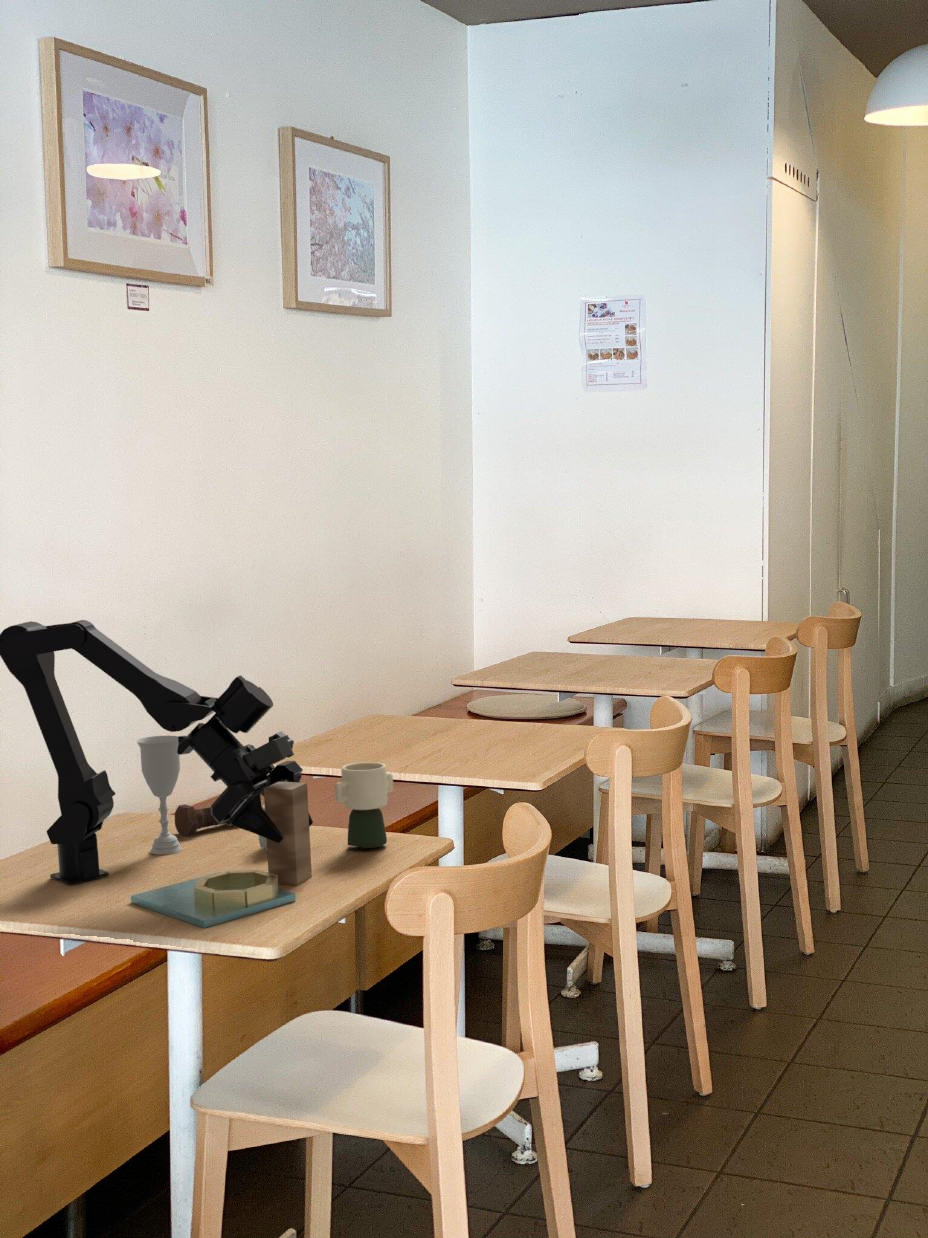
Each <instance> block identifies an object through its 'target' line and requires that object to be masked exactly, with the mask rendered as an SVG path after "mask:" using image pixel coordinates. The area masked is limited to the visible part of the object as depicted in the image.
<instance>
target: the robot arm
mask: <svg viewBox="0 0 928 1238" xmlns="http://www.w3.org/2000/svg"><path fill="white" fill-rule="evenodd" d="M64 650H74V651H75V652H76V653H78V654H79V655H81V656H82V657H83V658H85V659H86V660H87V661H89V662H90V663H91V664H93V665H94V666H95V667H96V668H98V669H100V670H101V672H104V673H105V674H106V675H107V676H109V677H110V678H111V679H113V680H114V681H115V682H117V684H119V685H121V686H122V687H123V688H124V689H126V690H128V691H129V692H130V693H131V694H133V695H134V696H135V697H136V698H137V699H138V701H140V703H141V705H142V707H143V708H144V710H145V711H146V713H147V714H148V715H149V716H150V717H151V718H152V719H153V720H154V721H155V722H156V723H157V725H158V726H160V727H161V728H162V729H163V730H165V731H167V732H170V733H175V732H181V731H184V730H186V729H187V728H188V727H191V726H192V725H193V724H195V723H196V722H197V721H202V720H203V719H205V718H207V717H209V716H211V715H212V714H213V715H212V716H211V717H210V718H209V719H208V721H206V723H203V722H199V723H198V724H196V726H194V728H193V729H192V730H191V731H190V732H189V733H188V734H187V735H179V737H178V742H179V743H178V749H177V753H178V754H179V756H181V755H187V754H191V753H192V752H193V751H194V752H195V753H196V754H197V755H198V756H199V758H200V759H201V760H202V761H203V762H204V763H205V764H206V766H207V767H208V768H209V769H211V771H212V772H213V773H211V775H210V778H211V779H212V781H214V782H217V781H220V780H221V782H222V783H223V784H224V785H225V786H226V788H225V789H224V790H223V791H222V793H220V795H219V796H218V797H217V798H216V799H215V801H214V802H212V804H211V805H210V807H211V815H212V817H213V818H214V819H215V820H216V821H217V822H218V823H219V824H220V825H223V824H222V823H224V822H226V821H228V822H227V823H226V825H227V826H230V827H231V826H233V827H235V828H239V829H241V830H244V831H247V832H249V833H253V834H255V835H257V836H259V835H260V836H262V837H265V838H267V839H269V840H272V841H274V842H277V843H280V842H281V841H282V840H283V838H284V837H283V836H282V834H281V832H280V831H279V829H278V828H277V827H276V825H275V824H274V823H273V822H272V820H271V819H270V818H269V816H268V815H267V814H266V812H265V811H264V810H263V808H262V806H263V805H262V798H261V796H262V797H264V788H266V787H268V786H270V785H272V784H275V783H277V782H300V783H301V780H302V773H303V770H304V769H303V768H302V767H301V766H300V765H299V763H297V762H296V760H286V761H284V762H281V761H283V760H285V759H286V758H291V757H293V756H295V753H294V751H293V748H294V743H295V742H294V740H293V739H292V738H290V737H289V735H288V734H287V735H286V734H285V733H284V732H283V731H279V732H275V734H272V735H270V736H268V742H266V743H265V744H262V745H260V746H258V747H257V748H256V747H255V745H253V744H249V743H248V744H246V745H244V744H242V743H241V742H240V741H239V739H238V738H237V737H236V736H235V735H234V734H238V733H240V732H241V733H244V734H248V733H249V732H250V731H251V730H252V729H253V728H254V727H255V726H256V725H257V723H258V722H259V721H260V720H261V719H262V718H263V717H264V716H265V715H266V714H267V713H268V712H269V711H270V710H271V709H272V708H273V707H274V703H273V700H272V698H271V697H270V696H269V694H267V692H266V691H265V690H264V689H263V688H262V687H261V686H258V685H256V684H255V683H254V682H251V681H250V680H247V679H245V677H243V675H237V676H236V677H235V678H234V679H233V680H232V681H231V682H230V684H229V686H228V687H227V688H226V689H225V691H223V692H222V694H221V695H220V696H219V697H214V696H205V695H200V694H199V693H198V691H196V690H194V689H193V688H191V687H188V686H187V685H184V684H183V683H181V682H179V681H177V680H174V679H171V678H169V677H165V676H163V675H161V674H159V673H158V672H155V671H154V670H153V669H151V668H150V667H148V665H146V664H144V663H143V662H142V661H140V660H139V659H138V658H136V657H135V656H134V655H132V654H131V653H130V652H129V651H127V650H126V649H124V647H122V646H121V645H119V644H118V643H116V642H115V641H113V640H112V639H111V638H109V636H107V635H105V634H104V633H103V632H102V631H101V630H99V629H97V628H96V626H95V625H94V623H92V622H91V621H89V620H86V619H81V620H76V621H72V622H66V623H59V624H51V625H43V624H42V623H40V622H37V621H31V620H30V621H25V622H22V623H18V624H14V625H9V626H8V627H6V628H4V629H3V630H2V632H1V633H0V659H1V660H2V661H3V663H4V665H5V666H6V669H8V671H9V672H10V674H12V676H13V677H14V678H15V679H16V680H17V682H19V683H20V684H21V685H22V687H23V689H24V690H25V693H26V696H27V698H28V701H29V703H30V706H31V709H32V711H33V714H34V717H35V719H36V722H37V724H38V728H39V730H40V731H41V736H42V737H43V740H44V743H45V745H46V748H47V751H48V754H49V756H50V758H51V760H52V763H53V766H54V769H55V772H56V774H57V801H58V806H59V810H60V815H59V817H58V818H57V819H56V820H55V821H54V822H53V823H52V824H51V826H50V827H49V828H48V829H47V830H46V835H47V836H48V839H49V841H50V844H51V845H57V859H58V872H54V873H51V874H50V875H49V876H50V879H52V880H56V881H58V882H62V883H65V884H68V885H75V884H79V883H83V882H87V881H91V880H95V879H100V878H103V877H107V876H109V875H110V872H109V871H107V870H104V869H100V861H99V860H100V859H99V858H100V857H99V847H98V838H97V837H98V835H97V832H98V831H99V832H100V830H102V829H103V825H104V821H106V820H107V818H108V817H109V816H111V813H112V811H113V809H114V807H115V803H114V798H113V797H114V796H115V795H116V792H115V791H114V790H113V789H112V787H111V784H110V781H109V776H108V773H107V771H106V770H105V769H104V770H102V771H100V772H98V773H97V772H96V771H95V769H93V767H92V766H91V765H90V764H89V763H88V760H87V758H86V755H85V752H84V750H83V748H82V745H81V742H80V739H79V737H78V735H77V734H78V733H77V732H76V729H75V725H74V723H73V721H72V718H71V716H70V714H69V710H68V708H67V706H66V703H65V700H64V698H63V695H62V692H61V690H60V687H59V684H58V681H57V680H56V679H57V678H56V675H55V666H56V665H55V663H56V662H55V661H56V660H55V657H56V656H55V652H58V651H60V652H61V651H64ZM233 733H234V734H233ZM279 762H281V763H279ZM277 763H279V764H277ZM274 764H277V765H276V766H275V765H274ZM308 813H309V828H310V827H311V826H312V825H313V823H314V821H313V819H312V817H311V814H310V812H309V811H308Z"/></svg>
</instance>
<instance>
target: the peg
mask: <svg viewBox="0 0 928 1238" xmlns="http://www.w3.org/2000/svg"><path fill="white" fill-rule="evenodd" d="M308 796H309V795H308V783H307V782H301V781H300V782H277V783H275V784H272V785H270V786H268V787H266V788H264V796H263V797H264V798H263V799H264V801H263V802H264V805H265V812H266V814H267V815H268V816H269V818H270V819H271V820H272V822H273V823H274V824H275V825H276V827H277V828H278V829H279V831H280V832H281V834H282V836H283V837H284V838H283V840H282V841H281V842H280V843H277V842H274V841H272V840H269V839H267V850H266V851H267V852H266V853H267V854H266V855H267V869H268V871H267V872H269V873H272V874H276V875H278V885H289V886H298V885H300V884H302V883H303V882H305V881H307V880H309V879H310V878H312V876H313V874H312V873H313V871H312V856H311V855H312V854H311V838H310V837H311V835H310V834H311V833H310V827H309V814H310V812H309V799H308ZM308 812H309V813H308Z"/></svg>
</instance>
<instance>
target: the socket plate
mask: <svg viewBox="0 0 928 1238" xmlns="http://www.w3.org/2000/svg"><path fill="white" fill-rule="evenodd" d="M296 899H297V898H296V893H294V892H291V891H287V890H283V889H280V888H279V884H278V875H276V874H272V873H269V872H268V871H264V870H260V869H244V870H243V869H241V870H226V871H218V872H215V873H211V874H210V873H209V874H207V875H204V876H200V877H196V878H193V879H189V880H185V881H181V882H178V883H173V884H169V885H166V886H162V887H158V888H154V889H151V890H148V891H143V892H140V893H136V894H133V895H130V902H131V903H132V904H134V905H137V906H140V907H143V908H146V909H148V910H151V911H154V912H157V913H161V914H162V915H166V916H169V917H171V918H174V919H177V920H180V921H182V922H186V923H189V924H192V925H194V926H197V927H201V928H203V929H205V928H208V927H212V926H216V925H218V924H222V923H226V922H229V921H233V920H235V919H239V918H242V917H246V916H250V915H253V914H256V913H259V912H263V911H266V910H270V909H272V908H276V907H280V906H283V905H286V904H290V903H293V902H296Z"/></svg>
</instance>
